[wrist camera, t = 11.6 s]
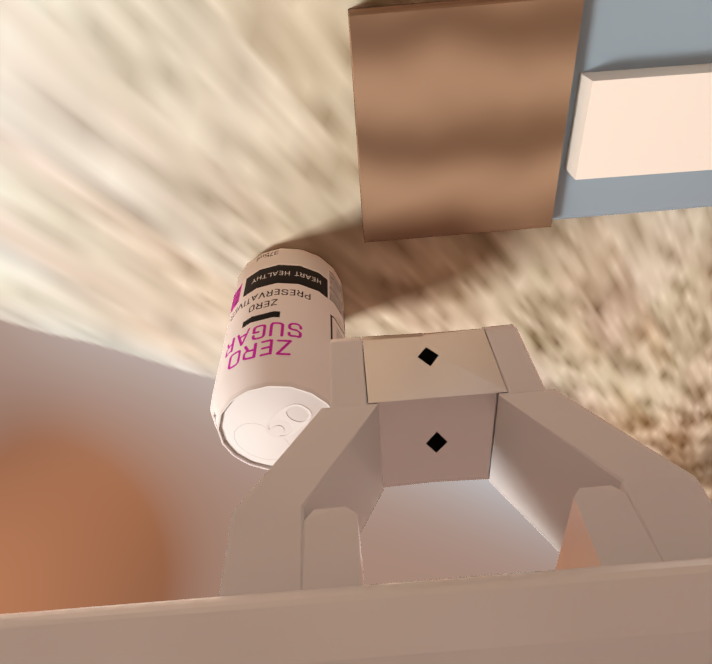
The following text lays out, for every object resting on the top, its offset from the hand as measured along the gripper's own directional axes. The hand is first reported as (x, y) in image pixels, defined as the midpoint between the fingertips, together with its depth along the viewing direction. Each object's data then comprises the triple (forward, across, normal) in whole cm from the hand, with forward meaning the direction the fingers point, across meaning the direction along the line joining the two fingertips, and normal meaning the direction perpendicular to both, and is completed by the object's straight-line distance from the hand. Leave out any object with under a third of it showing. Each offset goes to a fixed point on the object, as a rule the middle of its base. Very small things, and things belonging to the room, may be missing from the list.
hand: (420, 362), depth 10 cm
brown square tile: (+31, -6, +6) cm, 32 cm away
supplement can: (+31, +6, +18) cm, 37 cm away
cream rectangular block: (+30, -18, +6) cm, 35 cm away
